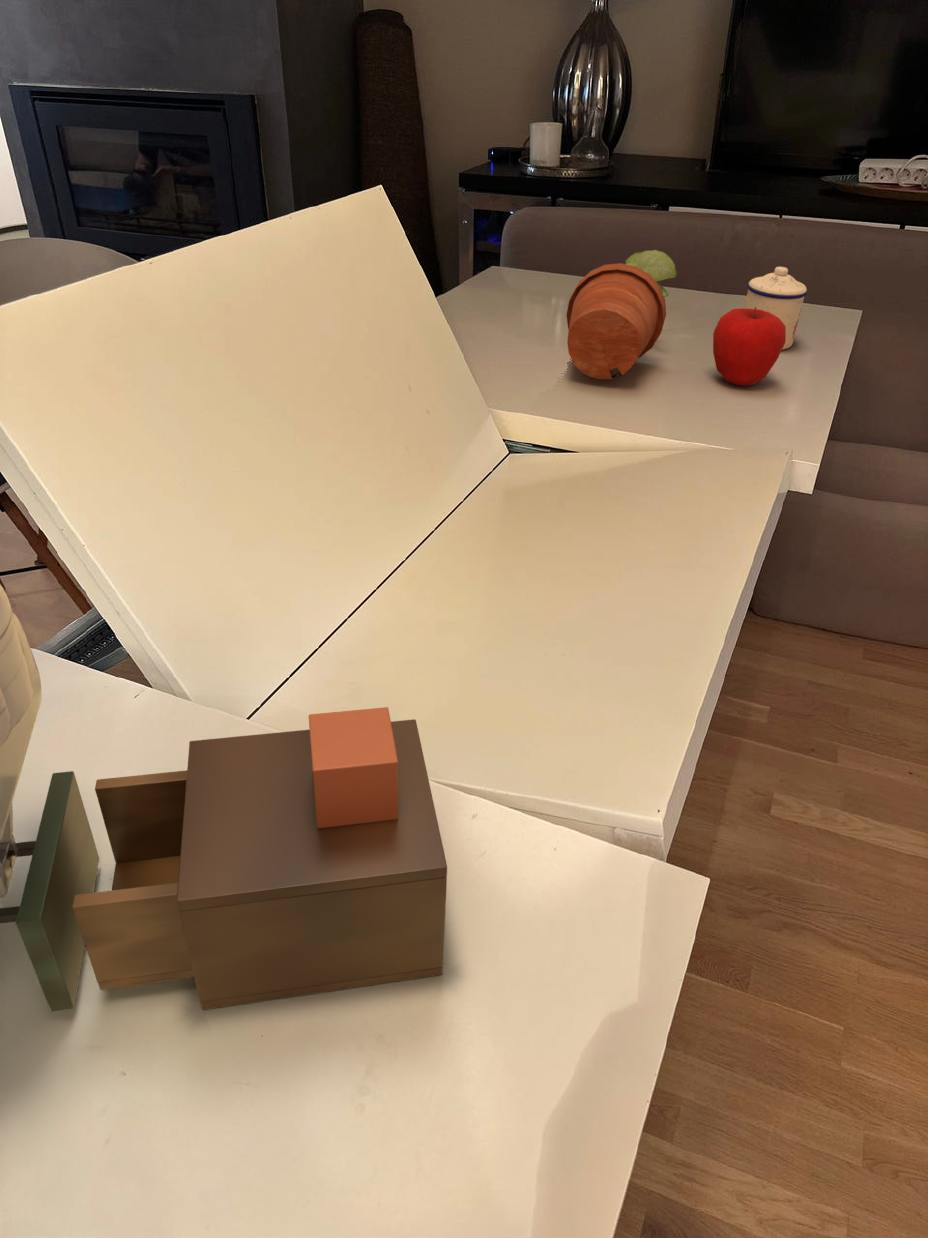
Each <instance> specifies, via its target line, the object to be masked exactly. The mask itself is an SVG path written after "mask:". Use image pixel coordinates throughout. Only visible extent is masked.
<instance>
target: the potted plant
mask: <svg viewBox="0 0 928 1238" xmlns="http://www.w3.org/2000/svg"><path fill="white" fill-rule="evenodd" d="M676 277H677V268H676V264H675V262H674V261H673V260H672V258H671V256H669V255H668V254H667V253H665V252H664V251H660V250H657V249H652V250H643V251H641V252H640V251H638V252H634V253H633V254H631V255H630V256H629V257H628V258H627V259H626V260H625V263H622V262H618V263H610V264H603V265H601V266H599V267H597V268H594V269H592V270H590V271H589V272H587V274H586V275H585V276H583V277H582V278H581V279H580V280H578V283H577V284H576V287H575V288H574V290H573V292H572V294H571V296H570V297H569V300H568V304H567V310H566V315H565V316H566V323H567V330H568V331H567V341H566V342H567V344H566V345H567V351H568V355H569V357H570V359H571V361H572V363H573V365H575V367H576V368H577V369H578V370H579V371H580V372H581V373H583V374H584V375H586V376H588V377H590V378H594V379H598V380H614V378H616V377H618V376H623V375H624V374H626V373H627V372H628V371H629V370H630V369H632V367H633V365H634V364H635V363H636V361H637V360H638V359H640V358H641V357H643V356H644V355H645V354H646V353H648V352H649V351H651V349H652V348H653V347H654V345H655V343H656V342H657V341H658V340H659V338H660V336H661V334H662V331H663V328H664V324H665V321H666V318H667V306H666V298H665V297H669V293H668V291H667V290H666V288H665V287H664V286H662V283H661V281H664V280H667V279H673V278H676Z"/></svg>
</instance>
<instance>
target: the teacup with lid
mask: <svg viewBox="0 0 928 1238" xmlns="http://www.w3.org/2000/svg"><path fill="white" fill-rule="evenodd" d="M788 273H789V269H788V267H784V266H776V267H775V268H774V271H773V272H770V273H766V274H765V275H763V276H757V277H753V278H752V279H750V281H749V282H748V284H747V285H746V287H747V293H746V298H745V302H744V306H743V308H744V309H755V307H756V309H758V310H763V311H766V312H769V313H771V314H773V315H775V316H776V317H778V318H779V319H780V320H781V321H782V322H783V324H784V325H785V326H786V340H785V344H784V346H783V349H782V351H783V350H787V349H789V348H791V347H792V346H793V343H794V340H795V335H796V331H797V327H798V325H799V324H798V323H799V320H800V317H801V316H800V315H801V311H802V308H803V303H804V301H805V300H804V299H805V296H807V294H808V290H807V286H806V285H805V284H804V283H802V282H800V281H799V280H796V279H795V278H794V277H793V276H792V275H790V274H788Z"/></svg>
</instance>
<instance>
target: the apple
mask: <svg viewBox="0 0 928 1238" xmlns="http://www.w3.org/2000/svg"><path fill="white" fill-rule="evenodd" d="M712 334H713V335H712V341H713V342H712V354H713V358H714V364H715V367H716V368H715V369H716V371H717V372H718V373H719V374H720V375H721V376H722V377H723V378H724V379H725V381H727V382H728V383H730V384H732V385H736V386H743V387H745V386H752V385H755V384H757V383H758V382H761V381H763V380H764V379H765V378H766V377H767V375H768V374H769V372H770V371H771V369H772V368H773V367H774V365H775V364H776V363H777V361H778V359H779V357H780V355H781V353H782V351H783V350H782V349H783V346H784V344H785V340H786V326H785V325H784V324H783V322H782V321H781V320H780V319H779V318H778V317H776V316H775V315H773V314H771V313H769V312H766V311H763V310H758V309H756V307H755V309H744V307H743V308H733V309H730V310H729V311H727V312H726V313H724V314H723V315H722V316H720V317H719V320H718V322H717V324H716V326H715V328H714V330H713V333H712Z"/></svg>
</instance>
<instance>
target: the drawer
mask: <svg viewBox="0 0 928 1238" xmlns="http://www.w3.org/2000/svg"><path fill="white" fill-rule="evenodd" d="M186 780H187V769H185V770H177V771H168V772H167V771H166V772H160V773H159V772H157V773H147V774H138V775H129V776H127V775H126V776H117V777H110V778H109V777H107V778H99V779H96V781H95V786H94V791H95V795H96V797H97V802H98V806H99V809H100V812H101V816H102V819H103V822H104V826H105V830H106V833H107V837H108V841H109V844H110V848H111V851H112V854H113V858H114V863H115V866H114V872H113V879H112V887H111V890H106V891H97V892H96V891H95V888H96V887H95V886H96V881H97V876H98V870H99V863H100V856H99V852H98V848H97V845H96V843H95V838H94V836H93V832H92V829H91V825H90V822H89V819H88V815H87V812H86V808H85V806H84V801H83V798H82V794H81V791H80V789H79V785H78V781H77V778H76V774H75V772H74V771H73V770H70V771H60V772H53V773H52V774H51V778H50V782H49V786H48V789H47V793H46V794H47V795H46V799H45V802H44V806H43V809H42V815H41V819H40V822H39V827H38V831H37V835H36V839H35V840H29V841H21V842H16V845H17V848H18V854H17V858H22V857H29V856H31V860H30V864H29V868H28V871H27V875H26V880H25V884H24V887H23V892H22V895H21V900H20V904H19V905H15V906H7V907H0V925H1V924H9V923H15V925H16V928H17V930H18V933H19V935H20V938H21V940H22V943H23V945H24V948H25V950H26V952H27V955H28V958H29V960H30V963H31V965H32V968H33V970H34V973H35V975H36V978H37V980H38V983H39V985H40V988H41V990H42V993H43V995H44V997H45V1000H46V1003H47V1005H48V1008H49V1009H50V1012H53V1013H54V1012H61V1011H68V1010H73V1009H74V1008H75V1004H76V998H77V992H78V988H79V987H78V985H79V983H80V982H79V981H80V975H81V970H82V969H81V968H82V963H83V958H84V952H85V949H86V952H87V956H88V959H89V961H90V965H91V967H92V971H93V973H94V976H95V979H96V982H97V984H98V987H99V990H100V991H106V990H113V989H120V988H128V987H135V986H142V985H149V984H155V983H156V984H157V983H162V982H170V981H177V980H185V979H191V978H192V979H193V978H194V974H193V970H192V966H191V961H190V957H189V953H188V948H187V944H186V940H185V935H184V931H183V927H182V922H181V918H180V914H179V909H178V905H177V891H178V878H179V866H180V854H181V841H182V829H183V817H184V804H185V792H186Z"/></svg>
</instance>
